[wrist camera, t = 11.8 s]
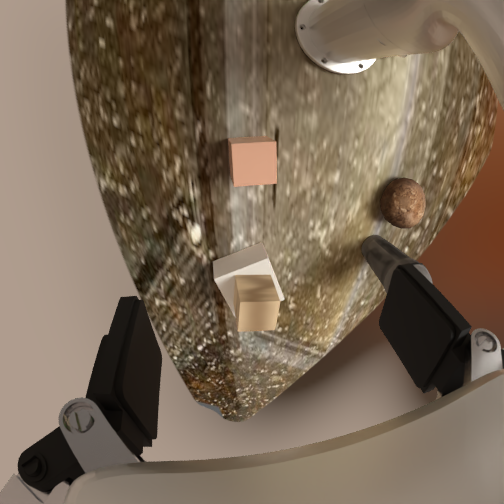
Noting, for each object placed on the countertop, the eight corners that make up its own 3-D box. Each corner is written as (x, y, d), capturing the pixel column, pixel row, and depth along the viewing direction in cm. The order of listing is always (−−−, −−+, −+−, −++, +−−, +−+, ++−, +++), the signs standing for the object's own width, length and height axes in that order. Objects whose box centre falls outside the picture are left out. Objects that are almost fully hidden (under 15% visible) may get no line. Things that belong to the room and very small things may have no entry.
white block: (261, 241, 43) (268, 257, 39) (277, 280, 47) (284, 299, 43) (212, 260, 44) (213, 279, 39) (232, 298, 48) (235, 317, 44)
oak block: (270, 274, 40) (280, 300, 35) (266, 302, 43) (275, 329, 38) (235, 274, 40) (240, 302, 34) (233, 303, 42) (237, 331, 37)
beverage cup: (349, 264, 48) (409, 346, 30) (360, 225, 44) (435, 300, 27) (382, 265, 49) (444, 338, 32) (394, 229, 46) (468, 296, 28)
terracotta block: (266, 135, 36) (276, 141, 30) (266, 171, 38) (276, 183, 33) (227, 138, 35) (231, 144, 30) (230, 174, 38) (234, 186, 32)
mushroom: (429, 218, 42) (435, 221, 36) (388, 231, 46) (389, 236, 40) (414, 173, 42) (419, 170, 36) (373, 187, 45) (372, 186, 40)
